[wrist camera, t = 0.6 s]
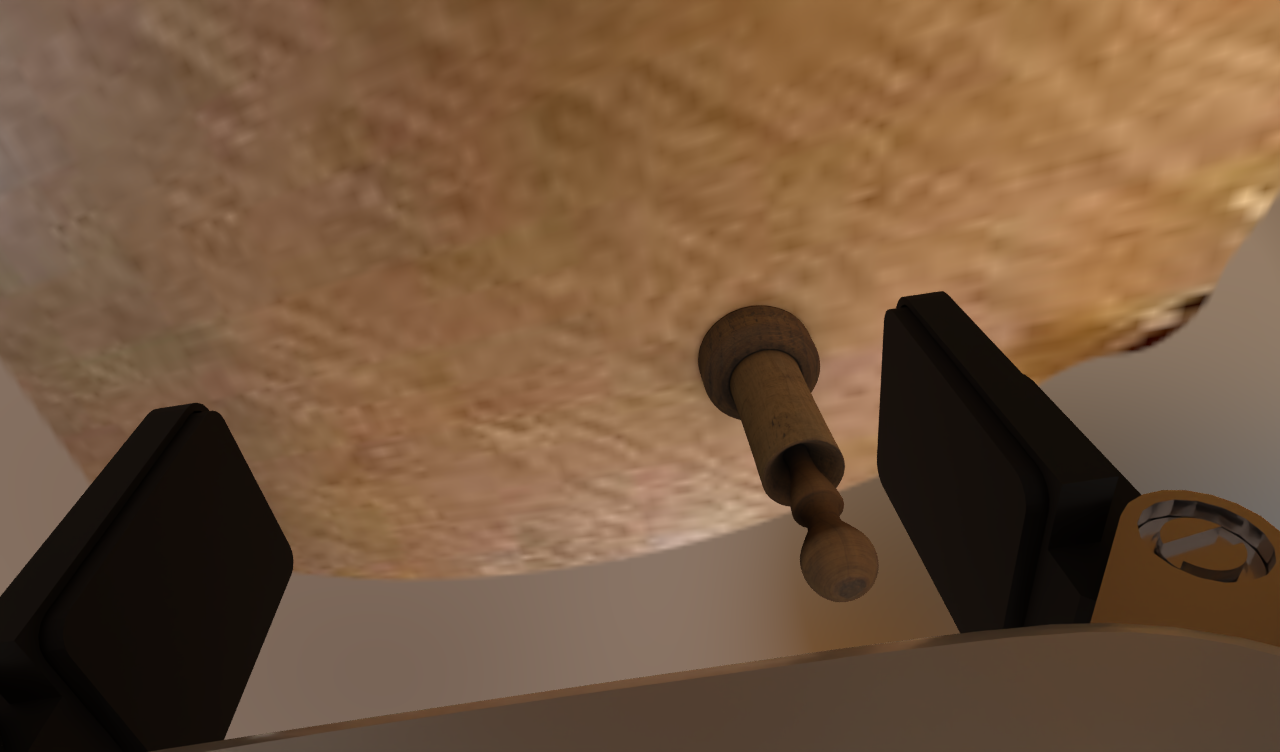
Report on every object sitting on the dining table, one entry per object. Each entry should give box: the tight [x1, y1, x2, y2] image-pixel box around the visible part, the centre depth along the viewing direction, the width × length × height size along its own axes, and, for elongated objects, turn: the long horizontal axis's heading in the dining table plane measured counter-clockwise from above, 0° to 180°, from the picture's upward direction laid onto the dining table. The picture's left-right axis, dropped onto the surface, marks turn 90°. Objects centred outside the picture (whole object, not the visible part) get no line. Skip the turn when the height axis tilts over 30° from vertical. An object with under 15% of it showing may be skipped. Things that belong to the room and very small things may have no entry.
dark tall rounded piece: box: [698, 306, 878, 602], centre depth 37 cm, size 7×6×18 cm
